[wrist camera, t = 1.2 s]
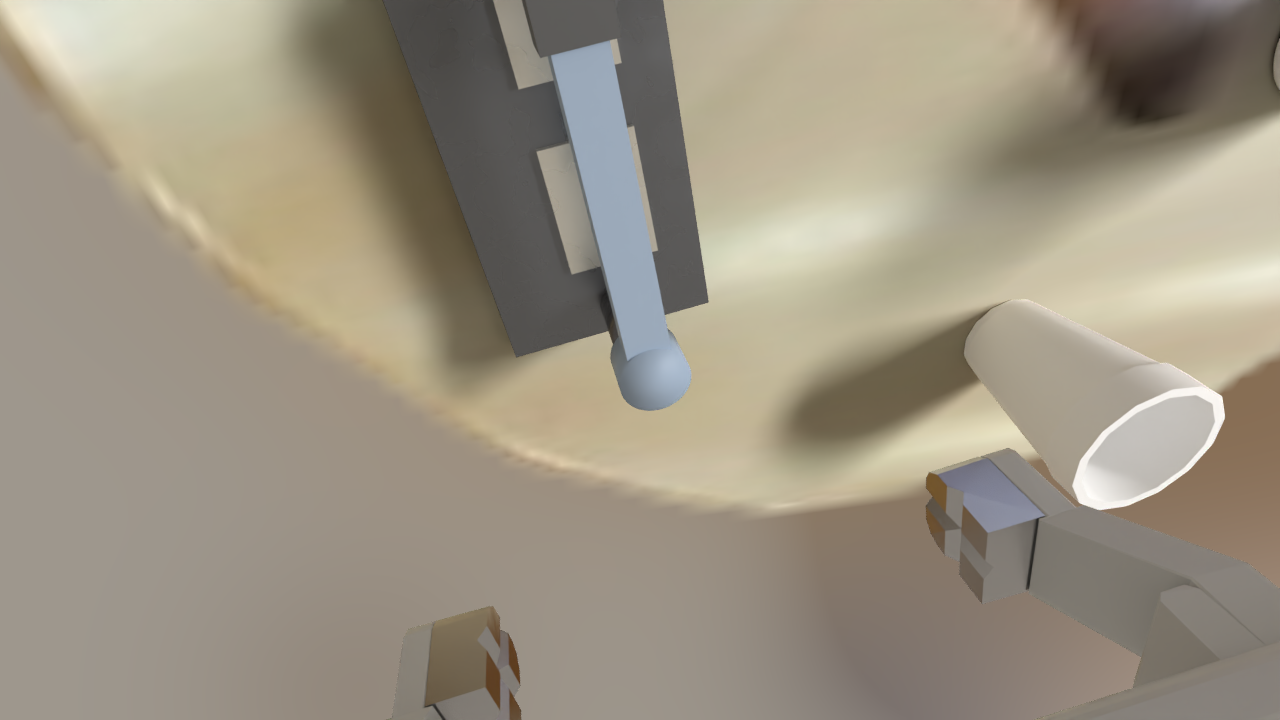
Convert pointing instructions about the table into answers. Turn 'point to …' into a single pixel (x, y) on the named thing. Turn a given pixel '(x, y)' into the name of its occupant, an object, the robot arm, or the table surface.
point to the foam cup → (1092, 404)
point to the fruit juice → (1277, 65)
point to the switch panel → (548, 161)
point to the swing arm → (610, 193)
